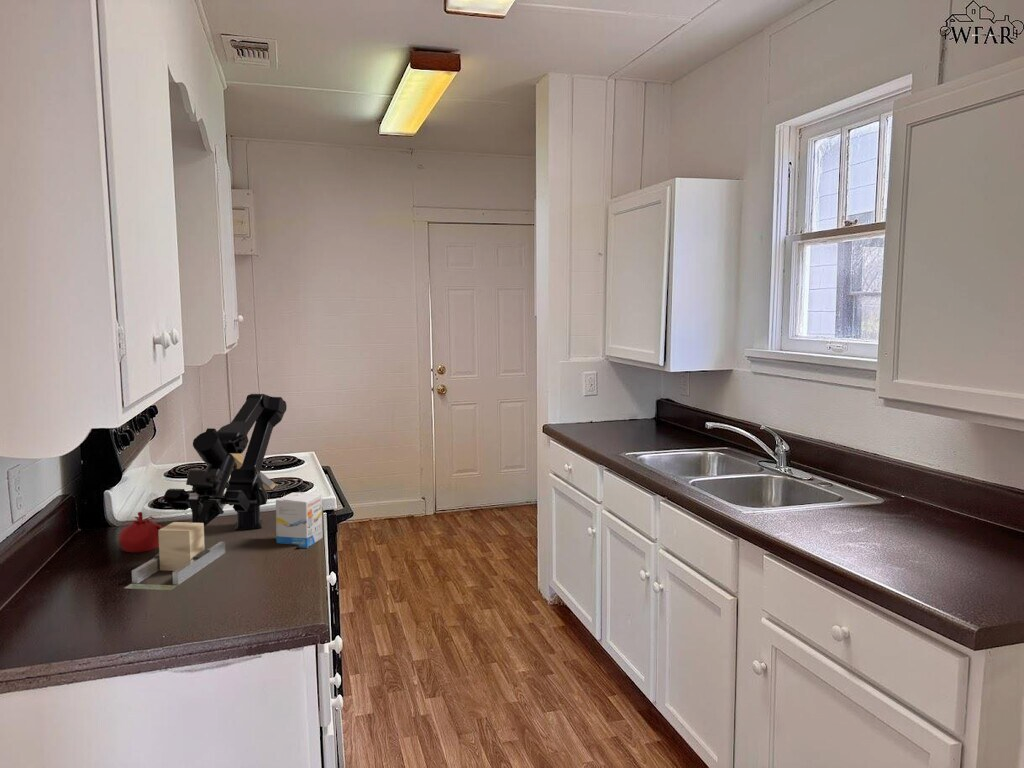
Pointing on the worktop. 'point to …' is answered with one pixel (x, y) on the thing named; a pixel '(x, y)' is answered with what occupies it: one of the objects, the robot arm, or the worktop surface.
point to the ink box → (299, 519)
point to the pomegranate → (140, 535)
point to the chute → (179, 574)
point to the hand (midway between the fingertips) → (194, 532)
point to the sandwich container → (266, 481)
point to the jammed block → (180, 544)
